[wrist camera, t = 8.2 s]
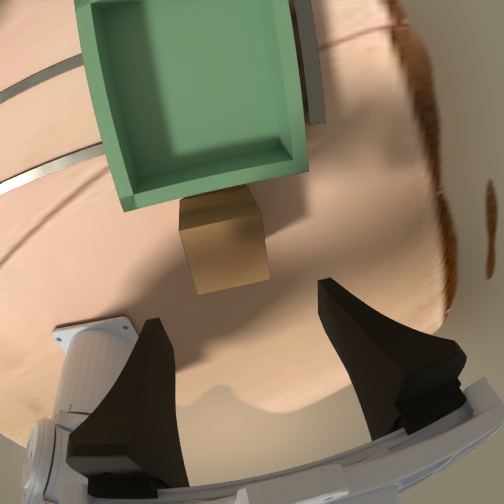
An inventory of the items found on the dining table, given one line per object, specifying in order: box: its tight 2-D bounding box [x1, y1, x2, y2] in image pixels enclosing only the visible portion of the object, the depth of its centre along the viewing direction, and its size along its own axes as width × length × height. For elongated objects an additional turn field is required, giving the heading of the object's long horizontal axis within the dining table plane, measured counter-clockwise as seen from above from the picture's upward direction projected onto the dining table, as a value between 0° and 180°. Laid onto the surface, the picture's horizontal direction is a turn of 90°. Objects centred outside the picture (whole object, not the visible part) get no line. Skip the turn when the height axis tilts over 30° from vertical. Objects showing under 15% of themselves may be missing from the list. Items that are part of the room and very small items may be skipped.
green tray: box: [74, 0, 309, 212], centre depth 14 cm, size 12×10×4 cm
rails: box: [0, 0, 325, 194], centre depth 15 cm, size 8×23×2 cm, turn 98°
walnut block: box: [179, 186, 270, 295], centre depth 20 cm, size 4×4×4 cm
